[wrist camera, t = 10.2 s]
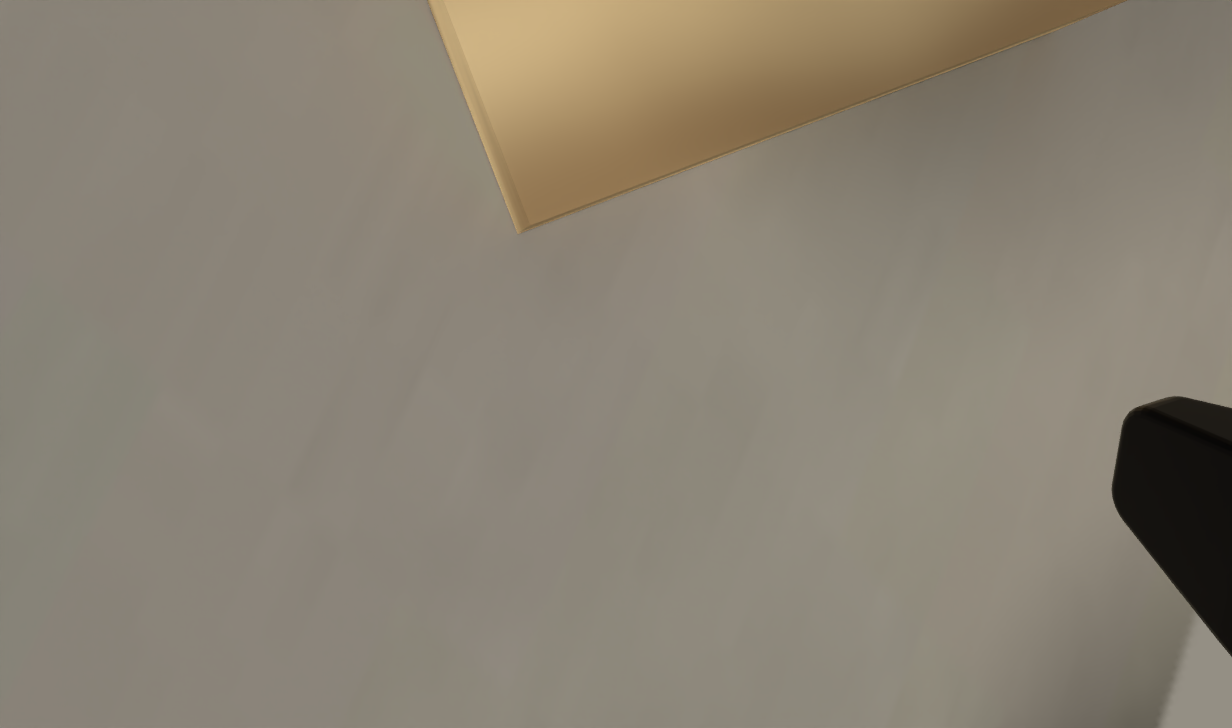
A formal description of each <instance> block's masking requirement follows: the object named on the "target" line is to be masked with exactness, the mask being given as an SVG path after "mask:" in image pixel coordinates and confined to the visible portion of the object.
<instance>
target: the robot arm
mask: <svg viewBox="0 0 1232 728" xmlns="http://www.w3.org/2000/svg"><path fill="white" fill-rule="evenodd" d="M1112 497H1113V501H1114V504H1115V507H1116V509H1117V511H1118V513H1119V515H1120V517H1121V518H1122V520H1123V521H1124V522H1125V523H1126V525H1127V526H1128V527H1129V528H1130V530H1131V531H1132V532H1133V534H1134V535H1135V536H1136V537H1137V539H1138V540H1139V541H1140V542H1141V544H1142V545H1143V546H1144V547H1145V549H1146V550H1147V551H1148V552H1149V554H1150V555H1151V556H1152V558H1153V559H1154V560H1155V561H1156V563H1157V564H1158V565H1159V566H1160V568H1161V569H1162V570H1163V571H1164V573H1165V574H1166V575H1167V576H1168V578H1169V579H1170V580H1171V582H1172V583H1173V584H1174V585H1175V587H1176V588H1177V589H1178V590H1179V592H1180V593H1181V594H1182V595H1183V597H1184V598H1185V599H1186V600H1187V602H1188V603H1189V604H1190V605H1191V607H1192V608H1193V609H1194V611H1195V612H1196V613H1197V614H1198V616H1199V617H1200V618H1201V619H1202V621H1203V622H1204V623H1205V624H1206V626H1207V627H1208V628H1209V629H1210V630H1211V632H1212V633H1213V634H1214V636H1215V637H1216V638H1217V640H1218V641H1219V642H1220V643H1221V644H1222V646H1223V647H1224V648H1225V649H1226V650H1227V652H1228V653H1229V654H1230V655H1231V656H1232V408H1229V407H1224V406H1220V405H1216V404H1212V403H1207V402H1203V401H1199V400H1194V399H1190V398H1186V397H1180V396H1173V397H1167V398H1163V399H1160V400H1157V401H1154V402H1151V403H1148V404H1145V405H1142V406H1139V407H1136V408H1134V409H1133V410H1131V411H1130V412H1129V413H1128V415H1127V416H1126V417H1125V419H1124V421H1123V425H1122V429H1121V435H1120V441H1119V447H1118V453H1117V458H1116V464H1115V470H1114V476H1113V482H1112Z"/></svg>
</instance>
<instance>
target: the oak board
mask: <svg viewBox="0 0 1232 728" xmlns="http://www.w3.org/2000/svg"><path fill="white" fill-rule="evenodd" d="M427 1H428V4H429V6H430V9H431V11H432V14H433V16H434V19H435V22H436V24H437V27H438V29H439V32H440V34H441V37H442V40H443V42H444V45H445V47H446V50H447V53H448V55H449V58H450V60H451V63H452V65H453V68H454V71H455V73H456V76H457V78H458V81H459V83H460V86H461V89H462V91H463V94H464V96H465V99H466V101H467V104H468V107H469V109H470V112H471V114H472V117H473V120H474V122H475V125H476V127H477V130H478V132H479V135H480V138H481V140H482V143H483V145H484V148H485V150H486V153H487V156H488V158H489V161H490V163H491V166H492V168H493V171H494V174H495V176H496V179H497V181H498V184H499V187H500V189H501V192H502V194H503V197H504V199H505V202H506V205H507V207H508V210H509V212H510V215H511V217H512V220H513V223H514V225H515V228H516V230H517V233H518V234H520V233H522V232H525V231H528V230H530V229H533V228H535V227H538V226H541V225H543V224H546V223H549V222H551V221H554V220H557V219H559V218H562V217H565V216H567V215H570V214H572V213H575V212H578V211H580V210H583V209H586V208H588V207H591V206H594V205H596V204H599V203H602V202H604V201H607V200H609V199H612V198H615V197H617V196H620V195H623V194H625V193H628V192H631V191H633V190H636V189H639V188H641V187H644V186H646V185H649V184H652V183H654V182H657V181H660V180H662V179H665V178H668V177H670V176H673V175H676V174H678V173H681V172H683V171H686V170H689V169H691V168H694V167H697V166H699V165H702V164H705V163H707V162H710V161H713V160H715V159H718V158H721V157H723V156H726V155H728V154H731V153H734V152H736V151H739V150H742V149H744V148H747V147H750V146H752V145H755V144H758V143H760V142H763V141H765V140H768V139H771V138H773V137H776V136H779V135H781V134H784V133H787V132H789V131H792V130H795V129H797V128H800V127H802V126H805V125H808V124H810V123H813V122H816V121H818V120H821V119H824V118H826V117H829V116H832V115H834V114H837V113H839V112H842V111H845V110H847V109H850V108H853V107H855V106H858V105H861V104H863V103H866V102H869V101H871V100H874V99H876V98H879V97H882V96H884V95H887V94H890V93H892V92H895V91H898V90H900V89H903V88H906V87H908V86H911V85H914V84H916V83H919V82H921V81H924V80H927V79H929V78H932V77H935V76H937V75H940V74H943V73H945V72H948V71H951V70H953V69H956V68H958V67H961V66H964V65H966V64H969V63H972V62H974V61H977V60H980V59H982V58H985V57H988V56H990V55H993V54H995V53H998V52H1001V51H1003V50H1006V49H1009V48H1011V47H1014V46H1017V45H1019V44H1022V43H1025V42H1027V41H1030V40H1032V39H1035V38H1038V37H1040V36H1043V35H1046V34H1048V33H1051V32H1054V31H1056V30H1059V29H1061V28H1063V27H1066V26H1068V25H1070V24H1073V23H1075V22H1077V21H1080V20H1082V19H1084V18H1087V17H1089V16H1092V15H1094V14H1096V13H1099V12H1101V11H1103V10H1106V9H1108V8H1110V7H1113V6H1115V5H1117V4H1120V3H1122V2H1124V1H1127V0H427Z"/></svg>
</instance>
